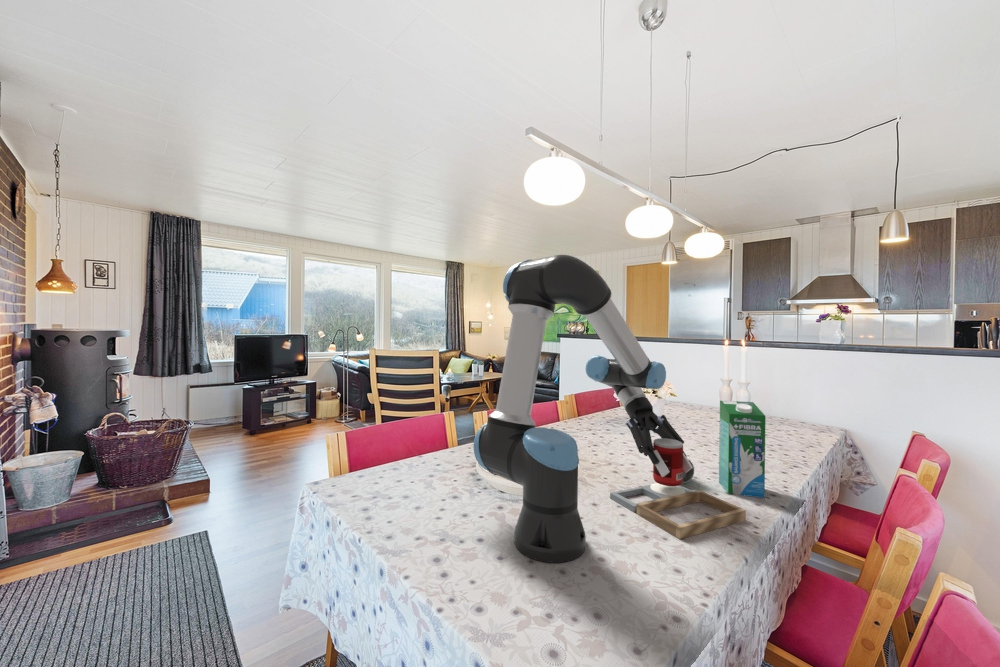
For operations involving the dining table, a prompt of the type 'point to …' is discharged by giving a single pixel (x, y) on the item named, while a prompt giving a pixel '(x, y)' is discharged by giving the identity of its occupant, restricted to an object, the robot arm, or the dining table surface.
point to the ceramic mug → (688, 474)
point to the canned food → (669, 461)
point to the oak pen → (696, 527)
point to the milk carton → (742, 448)
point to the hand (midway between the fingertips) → (677, 472)
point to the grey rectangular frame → (647, 494)
